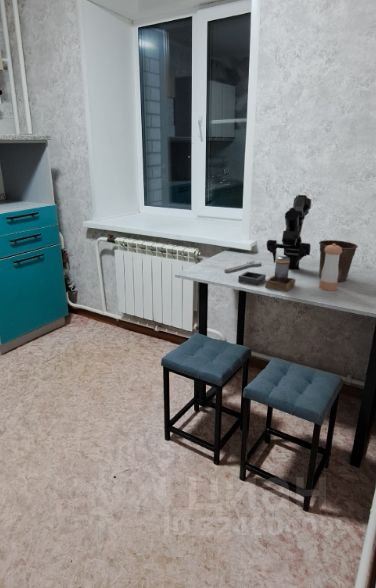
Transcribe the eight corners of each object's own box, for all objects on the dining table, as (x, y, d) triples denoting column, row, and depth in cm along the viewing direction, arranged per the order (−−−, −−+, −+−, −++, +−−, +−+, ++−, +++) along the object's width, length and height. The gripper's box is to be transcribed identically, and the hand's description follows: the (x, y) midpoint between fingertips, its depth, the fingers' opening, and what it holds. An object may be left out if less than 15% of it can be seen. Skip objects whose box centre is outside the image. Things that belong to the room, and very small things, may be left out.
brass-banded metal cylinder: (281, 283, 174) (284, 255, 169) (289, 287, 169) (293, 258, 165) (270, 285, 171) (273, 256, 167) (279, 289, 166) (281, 260, 162)
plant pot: (354, 277, 185) (360, 242, 180) (348, 286, 172) (354, 249, 167) (319, 271, 193) (323, 238, 188) (310, 279, 180) (315, 244, 175)
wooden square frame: (273, 281, 176) (274, 275, 175) (294, 285, 171) (295, 278, 170) (265, 287, 168) (265, 280, 167) (287, 291, 164) (288, 284, 163)
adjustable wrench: (227, 274, 187) (227, 270, 187) (218, 271, 192) (218, 267, 192) (263, 265, 202) (263, 262, 202) (253, 263, 207) (254, 259, 206)
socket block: (246, 276, 183) (247, 271, 182) (265, 280, 178) (265, 274, 177) (238, 281, 175) (238, 276, 174) (257, 285, 171) (257, 279, 170)
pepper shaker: (315, 287, 169) (321, 243, 163) (323, 284, 174) (330, 241, 168) (331, 292, 164) (338, 246, 158) (339, 288, 169) (346, 244, 163)
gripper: (269, 221, 176) (261, 251, 170) (313, 225, 169) (307, 256, 163) (271, 235, 185) (264, 264, 180) (312, 239, 179) (306, 269, 173)
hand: (284, 263), depth 174 cm, fingers open, 9 cm apart
